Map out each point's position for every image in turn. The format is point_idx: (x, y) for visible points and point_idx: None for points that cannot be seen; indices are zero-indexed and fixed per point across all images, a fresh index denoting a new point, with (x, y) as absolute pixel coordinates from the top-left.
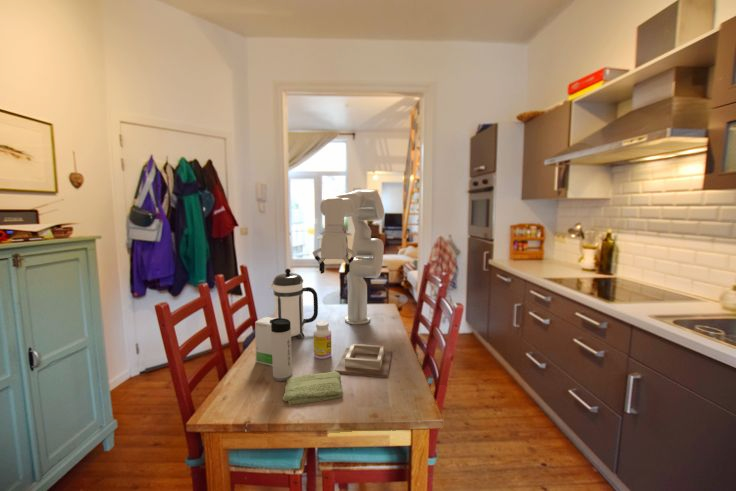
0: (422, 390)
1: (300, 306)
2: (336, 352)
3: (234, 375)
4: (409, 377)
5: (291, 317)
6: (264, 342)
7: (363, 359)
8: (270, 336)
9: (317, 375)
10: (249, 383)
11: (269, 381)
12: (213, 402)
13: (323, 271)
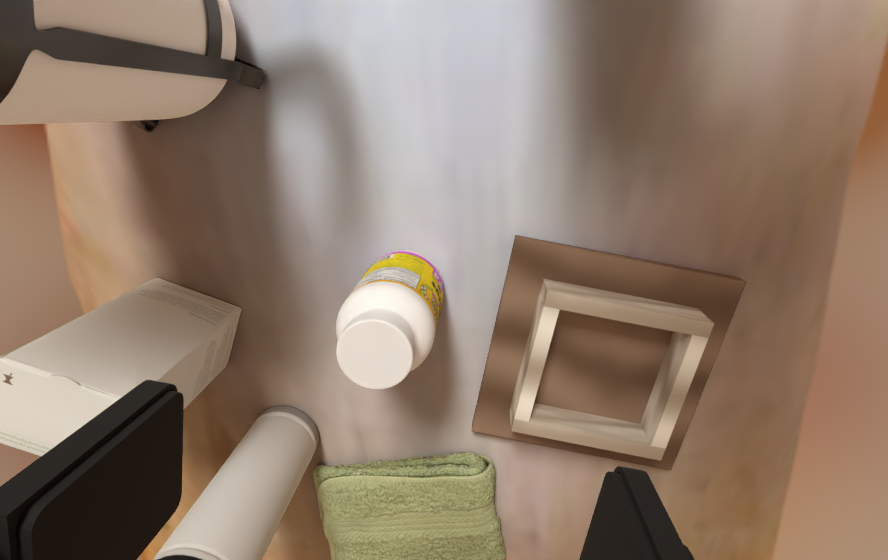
0: (768, 536)
1: (123, 55)
2: (466, 259)
3: None
4: (752, 467)
5: (122, 114)
6: None
7: (591, 441)
8: None
9: (413, 492)
10: (195, 462)
11: None
12: None
13: (167, 457)
